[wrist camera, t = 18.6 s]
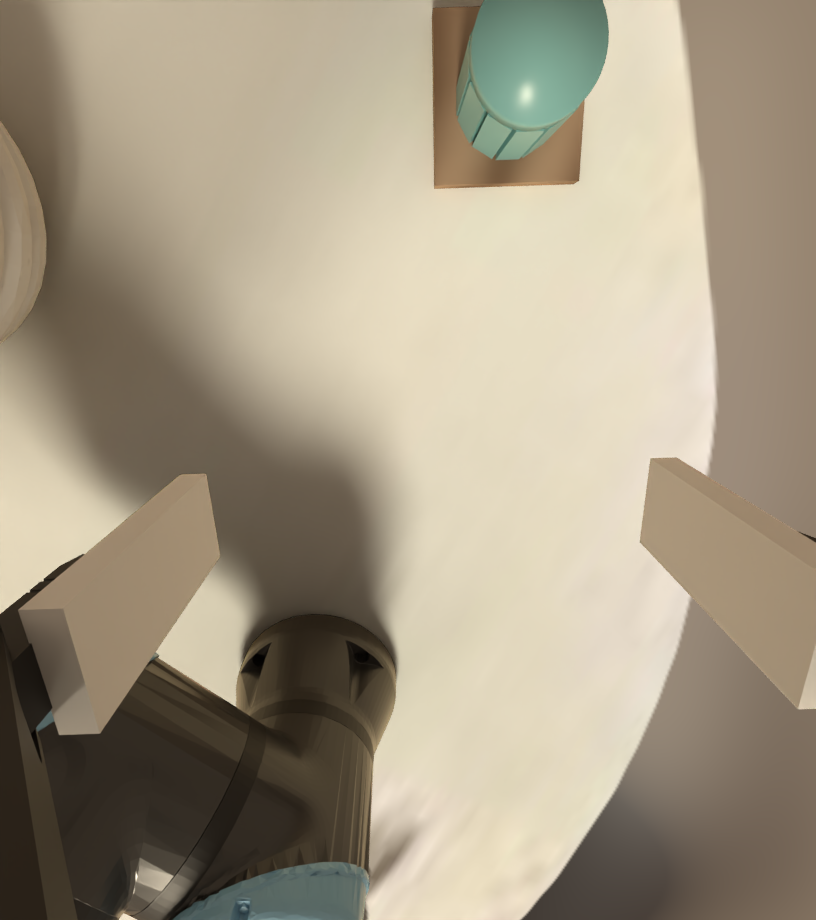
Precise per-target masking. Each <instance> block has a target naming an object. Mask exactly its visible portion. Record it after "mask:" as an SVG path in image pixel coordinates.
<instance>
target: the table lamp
mask: <svg viewBox="0 0 816 920" xmlns="http://www.w3.org/2000/svg"><path fill="white" fill-rule="evenodd" d="M45 266H46V230H45V223H44V216H43V210H42V206H41V202H40V199H39V196H38V193H37V189H36V186H35V183H34V180H33V177H32V175H31V173H30V171H29V169H28V167H27V165H26V163H25V160H24V158H23V156H22V154H21V152H20V150H19V148H18V147H17V145H16V144H15V142H14V141H13V139H12V138H11V136H10V134H9V133H8V131H7V130H6V128H5V127H4V125H3V124H2V122H1V121H0V343H2V342H4V341H5V340H6V339H7V338H8V337H9V336H10V335H11V334H12V333H14V332H15V331H16V330H17V329H18V328H19V327H20V326H21V324H22V323H23V321H24V320H25V318H26V317H27V316H28V314H29V313H30V311H31V310H32V308H33V306H34V303H35V301H36V299H37V296H38V294H39V291H40V289H41V286H42V281H43V276H44V271H45Z"/></svg>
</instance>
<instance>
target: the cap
mask: <svg viewBox="0 0 816 920" xmlns="http://www.w3.org/2000/svg"><path fill="white" fill-rule="evenodd" d="M608 36H609V30H608V19H607V14H606V10H605V7H604V4H603V0H484V1H483V3H482V5H481V8H480V10H479V13H478V15H477V19H476V22H475V26H474V28H473V30H472V32H471V34H470V37H469V41H468V45H467V48H466V52H465V56H464V60H463V63H462V67H461V71H460V74H459V78H458V82H457V86H456V116H458V122H459V124H460V126H461V128H462V130H463V132H464V134H465V136H466V138H467V140H468V142H469V143H470V142H472V141H473V140H475V141H474V143H473V145H472V147H474V148H475V149H477V150H478V151H480V152H481V153H483V154H485V155H486V156H488V157H489V158H491V159H492V158H493V157H494V155H495V154H496V160H514V159H520V158H521V156H522V158H524V157H525V156H526V155H528V154H529V153H531V152H532V151H534V150H535V149H537V148H538V147H540V146H541V145H543V144H544V143H545V142H546V141H547V140H548V139H549V138H550V137H551V136H552V135H553V134H554V133H555V132H556V131H557V130H558V129H559V128H560V127H561V126H562V124H563V123H564V122H565V121H566V120H567V119H568V118H569V117H570V116H571V115H572V114H573V113H574V112H575V111H576V110H577V109H578V107H579V106H580V104H581V102H582V101H583V100H584V99H585V98H586V97H587V96H588V94H589V93H590V92H591V90H592V89H593V87H594V85H595V84H596V82H597V80H598V78H599V76H600V74H601V71H602V68H603V66H604V63H605V59H606V54H607V48H608Z"/></svg>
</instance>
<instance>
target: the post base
mask: <svg viewBox="0 0 816 920" xmlns="http://www.w3.org/2000/svg"><path fill="white" fill-rule="evenodd" d="M480 8H481V6H477V7H447V8H433V14H432V52H433V127H434V189H439V188H469V187H499V186H529V185H559V184H574V183H576V182H577V181H579V173H580V158H581V144H582V129H583V114H584V100H585V99H584V100H583V101H582V102H581V104H580V106H579V107H578V109H577V110H576V111H575V112H574V113H573V114H572V115H571V116H570V117H569V118H568V119H567V120H566V121H565V122H564V123H563V124H562V126H561V127H560V128H559V129H558V130H557V131H556V132H555V133H554V134H553V135H552V136H551V137H550V138H549V139H548V140H547V141H546V142H545V143H544V144H543V145H541V146H540V147H538V148H537V149H535V150H534V151H532V152H531V153H529V154H528V155H526V156H525V157H524V158H522V156H521V158H520V159H514V160H496V154H495V155H494V157H493V158H492V159H491V158H489V157H488V156H486V155H485V154H483V153H481V152H480V151H478V150H477V149H475V148H474V147H472V145H473V143H474V141H475V140H473V141H472V142H470V143H469V142H468V140H467V138H466V136H465V134H464V132H463V130H462V128H461V126H460V124H459V122H458V116H456V86H457V82H458V78H459V74H460V71H461V67H462V63H463V60H464V56H465V52H466V48H467V45H468V41H469V37H470V34H471V32H472V30H473V28H474V26H475V22H476V19H477V15H478V13H479V10H480Z"/></svg>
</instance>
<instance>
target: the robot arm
mask: <svg viewBox="0 0 816 920" xmlns="http://www.w3.org/2000/svg"><path fill="white" fill-rule="evenodd" d="M640 543H641V544H642V545H643V546H644V547H645V548H646V549H647V550H648V551H649V552H650V553H651V554H652V555H653V557H654V558H655V559H656V560H657V561H658V562H659V563H660V564H661V565H662V566H663V567H664V568H665V569H666V570H667V571H668V572H669V573H670V575H671V576H672V577H673V578H674V579H675V580H676V581H677V582H678V583H679V584H680V585H681V586H682V587H683V588H684V589H685V590H686V591H687V593H688V594H689V595H690V596H691V597H692V598H693V599H694V600H695V601H696V602H697V603H698V604H699V605H700V606H701V607H702V608H703V609H704V610H705V612H706V613H707V614H708V615H709V616H710V617H711V618H712V619H713V620H714V621H715V622H716V623H717V624H718V625H719V626H720V627H721V628H722V629H723V631H724V632H725V633H726V634H727V635H728V636H729V637H730V638H731V639H732V640H733V641H734V642H735V643H736V644H737V645H738V646H739V648H740V649H742V651H743V652H744V653H745V654H746V655H747V656H748V657H749V658H750V659H751V660H752V661H753V662H754V663H755V664H756V665H757V667H758V668H759V669H760V670H761V671H762V672H763V673H764V674H765V675H766V676H767V677H768V678H769V679H770V680H771V681H772V682H773V683H774V685H775V686H776V687H777V688H778V689H779V690H780V691H781V692H782V693H783V694H784V695H785V696H786V697H787V698H788V699H789V700H790V702H791V703H792V704H793V705H794V706H795V707H796V708H797V709H816V538H814V537H811V536H808V535H806V534H803V533H800V532H798V531H796V530H794V529H793V528H791V527H789V526H788V525H786V524H784V523H783V522H781V521H780V520H778V519H776V518H774V517H773V516H771V515H770V514H768V513H766V512H764V511H763V510H761V509H760V508H758V507H756V506H755V505H753V504H752V503H750V502H748V501H746V500H745V499H743V498H742V497H740V496H739V495H737V494H735V493H734V492H732V491H730V490H728V489H727V488H725V487H724V486H722V485H721V484H719V483H717V482H716V481H714V480H712V479H711V478H709V477H707V476H706V475H704V474H702V473H701V472H699V471H698V470H696V469H694V468H693V467H691V466H689V465H688V464H686V463H684V462H683V461H681V460H680V459H678V458H651V459H650V466H649V474H648V482H647V489H646V497H645V505H644V513H643V520H642V528H641V536H640ZM219 558H220V551H219V545H218V539H217V534H216V528H215V522H214V516H213V510H212V504H211V498H210V493H209V487H208V481H207V475H206V474H180V475H179V476H178V477H177V478H175V479H174V480H173V481H172V482H171V483H169V484H168V485H167V486H166V487H165V488H163V489H162V490H161V491H160V492H159V493H158V494H156V495H155V496H154V497H153V498H152V499H150V500H149V501H148V502H147V503H146V504H144V505H143V506H142V507H141V508H140V509H138V510H137V511H136V512H135V513H134V514H132V515H131V516H130V517H129V518H128V519H126V520H125V521H124V522H123V523H122V524H120V525H119V526H118V527H117V528H116V529H114V530H113V531H112V532H111V533H110V534H108V535H107V536H106V537H105V538H104V539H102V540H101V541H100V542H99V543H98V544H96V545H95V546H94V547H93V548H92V549H90V550H89V551H88V552H87V553H86V554H82V555H80V556H78V557H76V558H74V559H72V560H71V561H69V562H67V563H65V564H63V565H61V566H59V567H58V568H57V569H56V570H54V571H53V572H52V573H51V574H49V575H48V576H47V577H46V578H44V581H43V582H39V583H38V584H37V585H36V586H34V587H33V588H32V589H31V590H30V593H26V594H25V595H23V596H22V597H21V598H20V599H18V600H17V601H16V602H15V603H13V604H12V605H11V606H10V607H9V608H7V609H6V610H5V611H4V612H2V613H1V614H0V920H119V918H120V917H121V915H122V914H123V913H125V914H127V915H129V916H131V917H133V918H135V919H137V920H363V915H364V908H365V900H366V895H367V893H368V889H369V884H370V883H369V876H368V867H369V846H370V824H371V802H372V780H373V760H374V753H375V751H376V749H377V747H378V744H379V742H380V740H381V738H382V735H383V733H384V731H385V729H386V726H387V724H388V722H389V720H390V717H391V715H392V712H393V709H394V704H395V698H396V672H395V667H394V664H393V661H392V658H391V656H390V654H389V652H388V651H387V649H386V648H385V646H384V645H383V644H382V643H381V641H380V640H379V639H378V638H377V637H375V636H374V635H373V634H372V633H371V632H369V631H368V630H366V629H365V628H363V627H362V626H360V625H358V624H356V623H354V622H351V621H349V620H346V619H343V618H339V617H334V616H328V615H303V616H297V617H293V618H289V619H286V620H284V621H281V622H279V623H277V624H275V625H273V626H271V627H270V628H268V629H267V630H265V631H264V632H263V633H262V634H261V635H260V636H259V637H258V638H257V639H256V640H255V641H254V642H253V644H252V645H251V647H250V648H249V650H248V652H247V654H246V656H245V659H244V661H243V664H242V666H241V668H240V671H239V675H238V679H237V685H236V707H235V706H233V705H232V704H230V703H229V702H227V701H225V700H224V699H222V698H221V697H219V696H218V695H216V694H214V693H213V692H211V691H210V690H208V689H206V688H205V687H203V686H202V685H200V684H199V683H197V682H195V681H194V680H192V679H191V678H189V677H187V676H186V675H184V674H183V673H181V672H179V671H178V670H176V669H175V668H173V667H172V666H170V665H168V664H167V663H165V662H164V661H162V660H160V659H159V658H158V657H159V655H158V654H157V653H156V650H157V649H158V647H159V646H160V644H161V643H162V642H163V640H164V639H165V637H166V636H167V634H168V633H169V631H170V630H171V628H172V627H173V625H174V624H175V622H176V621H177V619H178V618H179V617H180V615H181V614H182V612H183V611H184V609H185V608H186V606H187V605H188V603H189V602H190V600H191V599H192V597H193V596H194V594H195V593H196V591H197V590H198V589H199V587H200V586H201V584H202V583H203V581H204V580H205V578H206V577H207V575H208V574H209V572H210V571H211V569H212V568H213V566H214V565H215V564H216V562H217V561H218V559H219Z"/></svg>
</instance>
